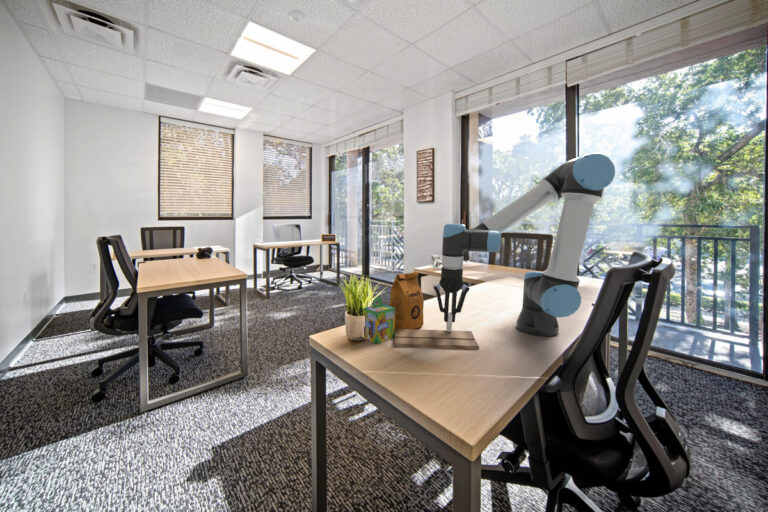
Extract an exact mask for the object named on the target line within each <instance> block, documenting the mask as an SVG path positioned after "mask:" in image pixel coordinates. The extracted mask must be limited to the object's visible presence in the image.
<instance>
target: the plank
mask: <svg viewBox="0 0 768 512" xmlns="http://www.w3.org/2000/svg"><path fill="white" fill-rule="evenodd" d="M395 338H424V339H456V340H476V338H475V336H474V333H473V331H471V330H454V329H452V332H447V329H444V330H443V329H419V328H417V329H395V337H394V339H395Z"/></svg>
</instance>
